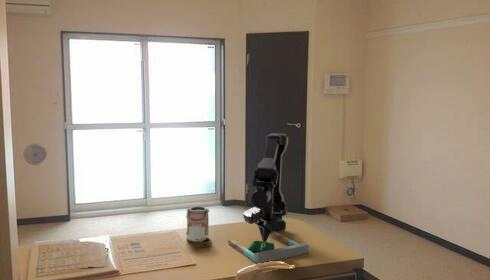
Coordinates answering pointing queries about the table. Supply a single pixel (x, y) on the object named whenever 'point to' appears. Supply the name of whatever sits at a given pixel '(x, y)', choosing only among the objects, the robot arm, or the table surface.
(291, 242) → the teal band
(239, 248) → the rails
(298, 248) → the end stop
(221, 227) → the table surface
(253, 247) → the gaming controller
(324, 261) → the table surface
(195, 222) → the pink white can
